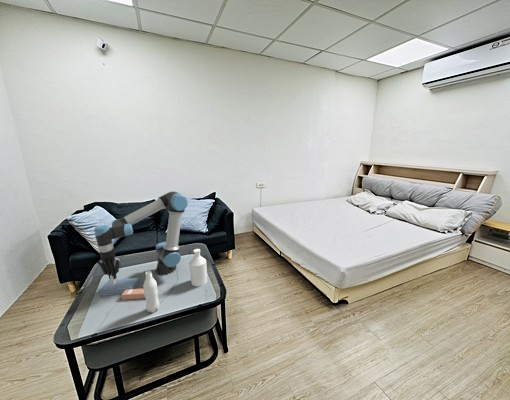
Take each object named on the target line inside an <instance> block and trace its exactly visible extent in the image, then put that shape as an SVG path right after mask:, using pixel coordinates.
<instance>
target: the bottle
mask: <svg viewBox="0 0 510 400" xmlns="http://www.w3.org/2000/svg"><path fill="white" fill-rule="evenodd" d="M193 253H194V256H193V257H192V259H190V261H189V262H188V265H189V272H190V274H189V275H190V283H191V285H192V286H194V287H197V288H198V287H202V286H204V285H206V284H207V283H208V268H207V266H208V265H207V259H206V258H204V257H203V256H202V255H201V249H200V248H194V249H193Z"/></svg>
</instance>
